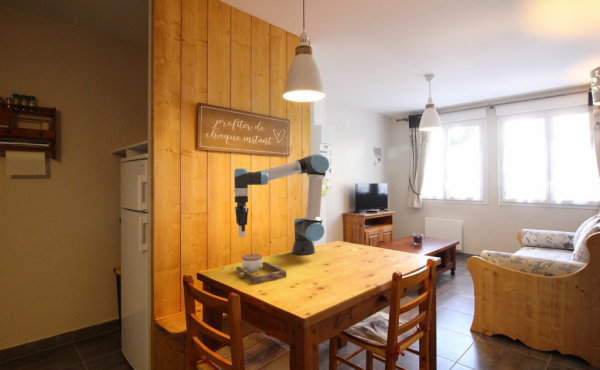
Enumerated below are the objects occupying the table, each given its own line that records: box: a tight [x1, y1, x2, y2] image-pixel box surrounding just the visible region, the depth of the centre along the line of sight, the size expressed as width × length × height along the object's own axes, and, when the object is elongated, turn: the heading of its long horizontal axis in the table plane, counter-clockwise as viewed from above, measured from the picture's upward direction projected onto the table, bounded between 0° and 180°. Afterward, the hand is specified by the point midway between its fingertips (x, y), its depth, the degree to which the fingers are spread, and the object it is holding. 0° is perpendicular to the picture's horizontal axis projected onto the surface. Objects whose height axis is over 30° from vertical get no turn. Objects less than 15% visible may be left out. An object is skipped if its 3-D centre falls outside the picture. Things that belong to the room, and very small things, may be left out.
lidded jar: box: [241, 252, 263, 273], centre depth 161 cm, size 11×11×9 cm
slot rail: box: [235, 261, 287, 285], centre depth 153 cm, size 22×22×3 cm
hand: (241, 236), depth 170 cm, fingers closed
